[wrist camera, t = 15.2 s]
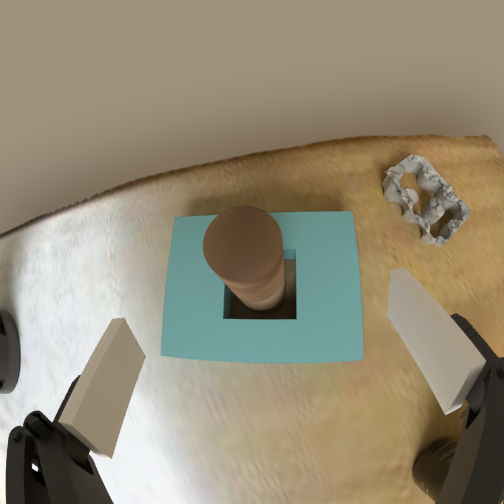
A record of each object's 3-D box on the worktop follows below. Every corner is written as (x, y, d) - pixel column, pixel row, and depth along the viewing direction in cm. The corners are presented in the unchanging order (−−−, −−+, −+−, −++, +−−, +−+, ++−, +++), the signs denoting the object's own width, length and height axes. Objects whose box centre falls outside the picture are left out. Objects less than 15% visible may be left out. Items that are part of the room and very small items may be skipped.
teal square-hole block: (173, 355, 26) (160, 355, 23) (184, 229, 31) (175, 217, 28) (355, 358, 23) (362, 359, 21) (346, 224, 28) (352, 211, 25)
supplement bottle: (401, 487, 17) (446, 536, 6) (425, 435, 19) (488, 467, 8) (445, 483, 16) (497, 519, 4) (467, 434, 18) (532, 455, 6)
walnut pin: (240, 313, 27) (199, 280, 14) (241, 270, 28) (206, 208, 16) (285, 313, 26) (282, 280, 14) (285, 269, 27) (281, 204, 15)
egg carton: (372, 187, 30) (380, 167, 26) (408, 164, 30) (418, 144, 27) (428, 257, 26) (445, 244, 22) (461, 225, 26) (477, 210, 23)
